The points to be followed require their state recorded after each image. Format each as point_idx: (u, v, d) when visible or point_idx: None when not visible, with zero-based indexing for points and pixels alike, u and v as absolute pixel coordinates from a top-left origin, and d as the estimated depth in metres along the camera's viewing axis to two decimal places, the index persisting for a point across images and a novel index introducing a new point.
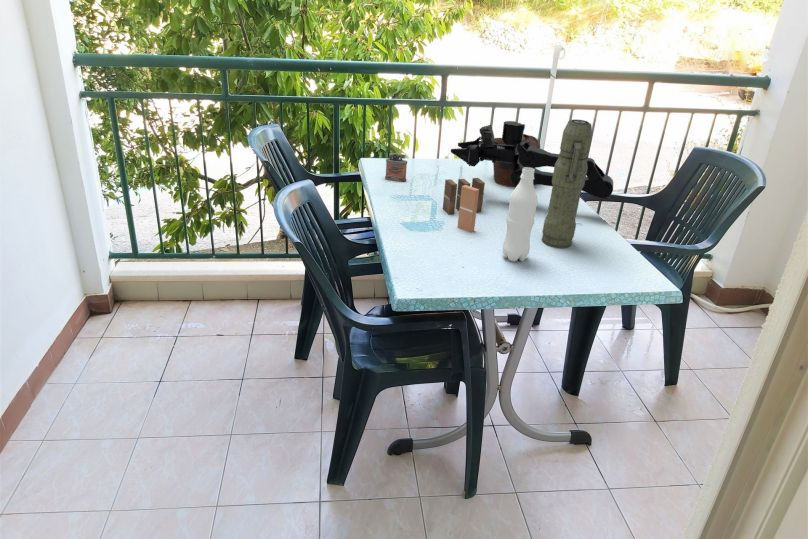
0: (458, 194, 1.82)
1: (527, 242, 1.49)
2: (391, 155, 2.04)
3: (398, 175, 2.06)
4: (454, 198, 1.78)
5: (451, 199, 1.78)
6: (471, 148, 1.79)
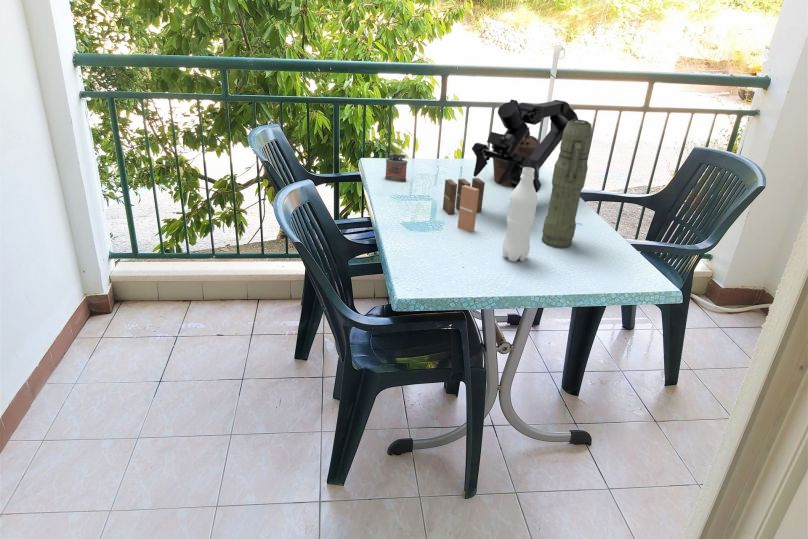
0: (458, 194, 1.82)
1: (527, 242, 1.49)
2: (391, 155, 2.04)
3: (398, 175, 2.06)
4: (454, 198, 1.78)
5: (451, 199, 1.78)
6: (522, 161, 1.63)
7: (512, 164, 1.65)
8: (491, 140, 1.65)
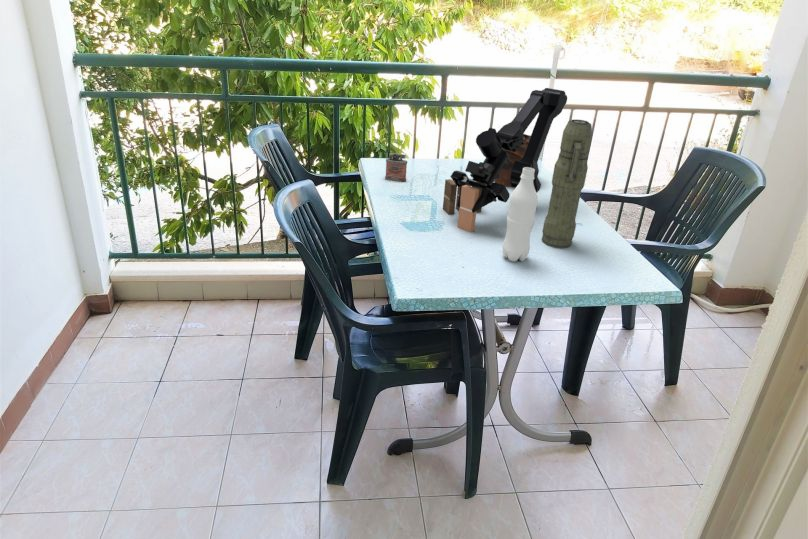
0: (458, 194, 1.82)
1: (527, 242, 1.49)
2: (391, 155, 2.04)
3: (398, 175, 2.06)
4: (454, 198, 1.78)
5: (451, 199, 1.78)
6: (501, 191, 1.60)
7: (485, 192, 1.63)
8: (469, 169, 1.62)
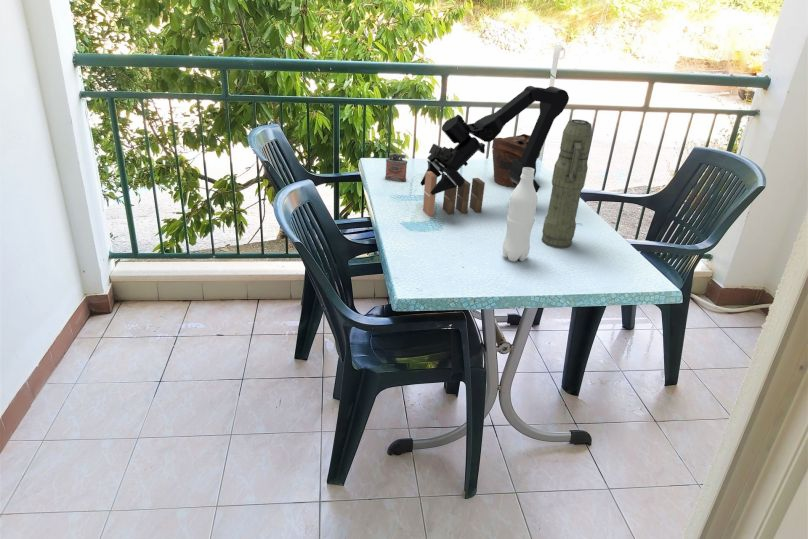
0: (458, 194, 1.82)
1: (527, 242, 1.49)
2: (391, 155, 2.04)
3: (398, 175, 2.06)
4: (454, 198, 1.78)
5: (451, 199, 1.78)
6: (450, 174, 1.66)
7: (443, 176, 1.69)
8: (430, 151, 1.72)
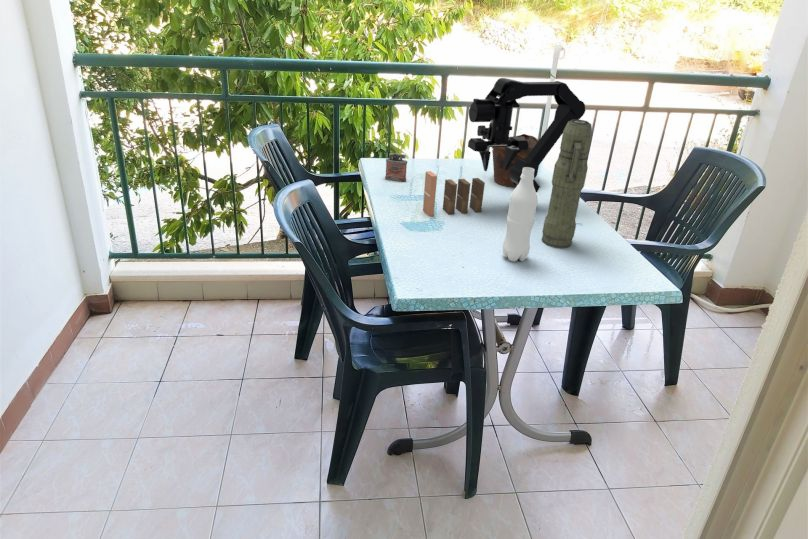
0: (458, 194, 1.82)
1: (527, 242, 1.49)
2: (391, 155, 2.04)
3: (398, 175, 2.06)
4: (454, 198, 1.78)
5: (451, 199, 1.78)
6: None
7: None
8: None
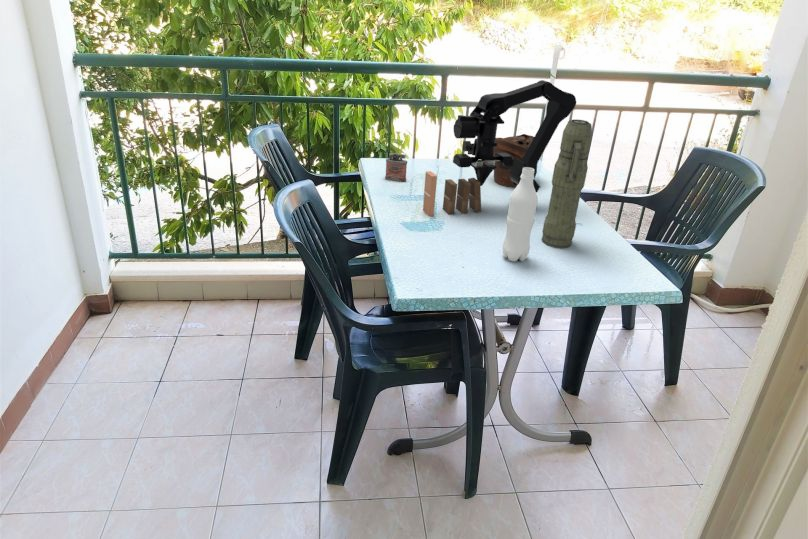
0: (458, 194, 1.82)
1: (527, 242, 1.49)
2: (391, 155, 2.04)
3: (398, 175, 2.06)
4: (454, 198, 1.78)
5: (451, 199, 1.78)
6: None
7: None
8: None
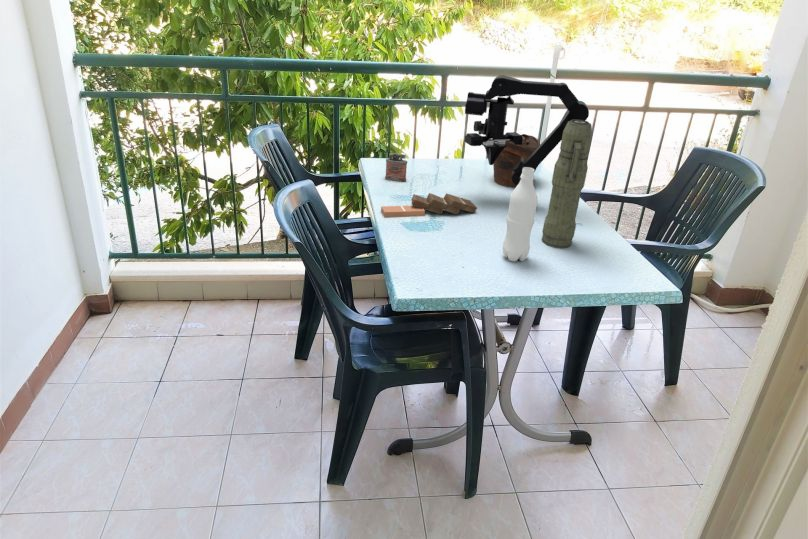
0: None
1: (527, 242, 1.49)
2: (391, 155, 2.04)
3: (398, 175, 2.06)
4: (426, 205, 1.78)
5: (426, 208, 1.79)
6: None
7: None
8: None
